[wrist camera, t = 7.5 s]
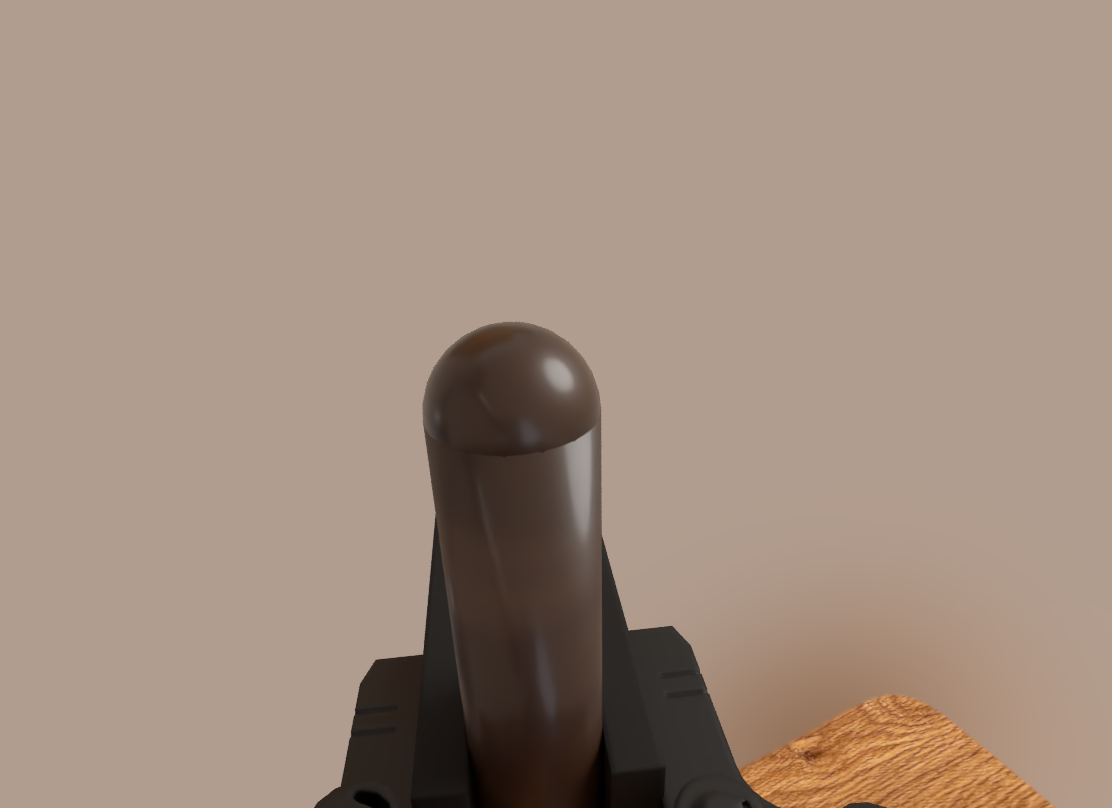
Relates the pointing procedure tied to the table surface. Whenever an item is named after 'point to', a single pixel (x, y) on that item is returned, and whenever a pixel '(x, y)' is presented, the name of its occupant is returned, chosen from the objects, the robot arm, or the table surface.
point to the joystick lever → (522, 559)
